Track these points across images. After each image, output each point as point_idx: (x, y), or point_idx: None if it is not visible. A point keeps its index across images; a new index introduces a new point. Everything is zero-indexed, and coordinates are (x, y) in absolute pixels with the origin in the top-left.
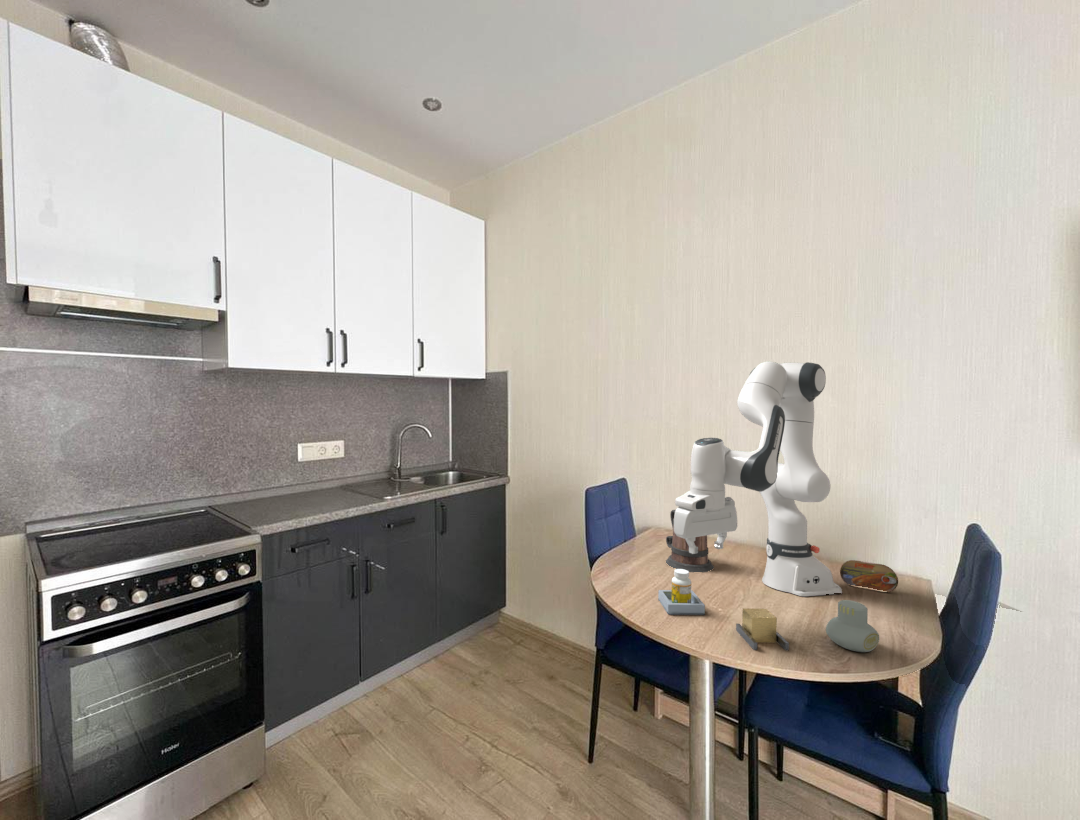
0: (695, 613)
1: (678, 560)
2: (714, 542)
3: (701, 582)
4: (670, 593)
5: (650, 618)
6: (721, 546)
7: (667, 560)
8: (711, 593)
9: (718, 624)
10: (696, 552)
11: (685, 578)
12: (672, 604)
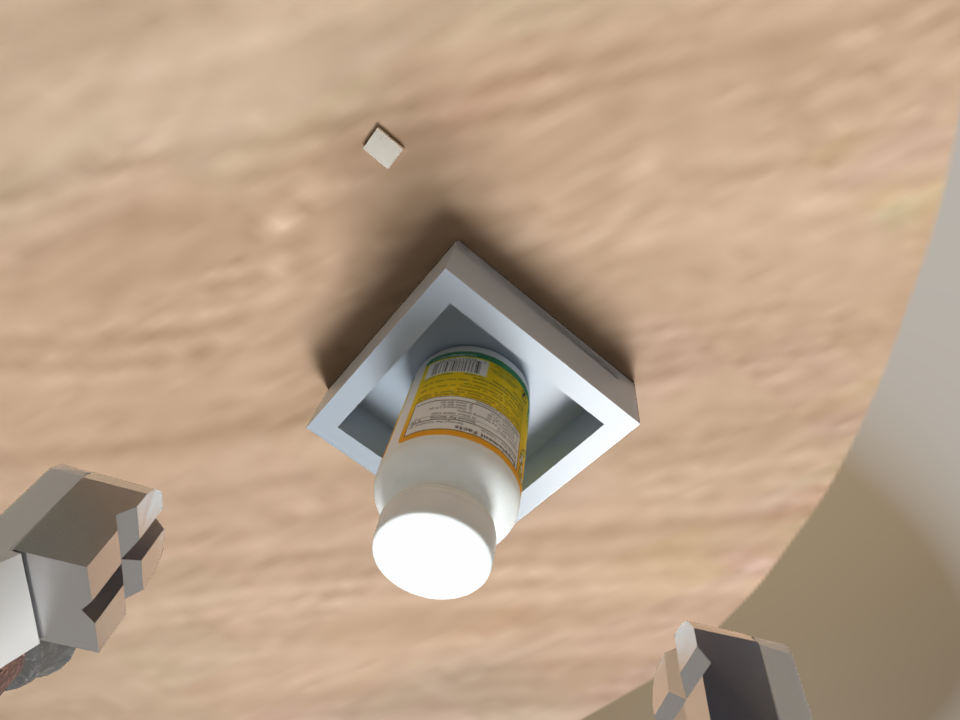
0: (503, 284)
1: None
2: (110, 635)
3: (69, 465)
4: None
5: (747, 427)
6: (79, 499)
7: (41, 674)
8: (135, 365)
9: (497, 113)
10: (725, 637)
11: (455, 490)
12: (617, 408)
